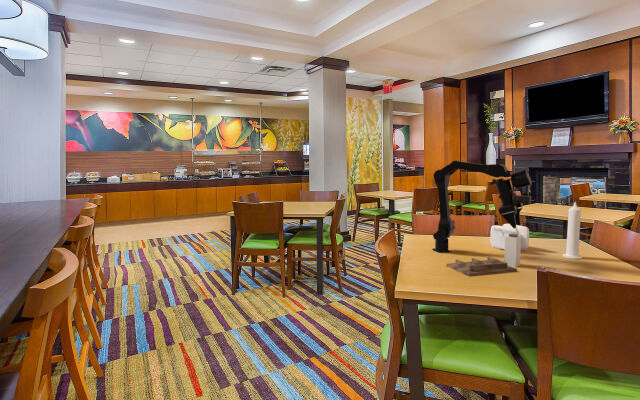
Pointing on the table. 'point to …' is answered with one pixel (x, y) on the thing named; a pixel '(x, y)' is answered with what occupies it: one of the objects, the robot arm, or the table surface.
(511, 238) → the white tall block
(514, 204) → the robot arm
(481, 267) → the comb rack
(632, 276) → the table surface
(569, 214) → the candle
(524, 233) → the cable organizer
